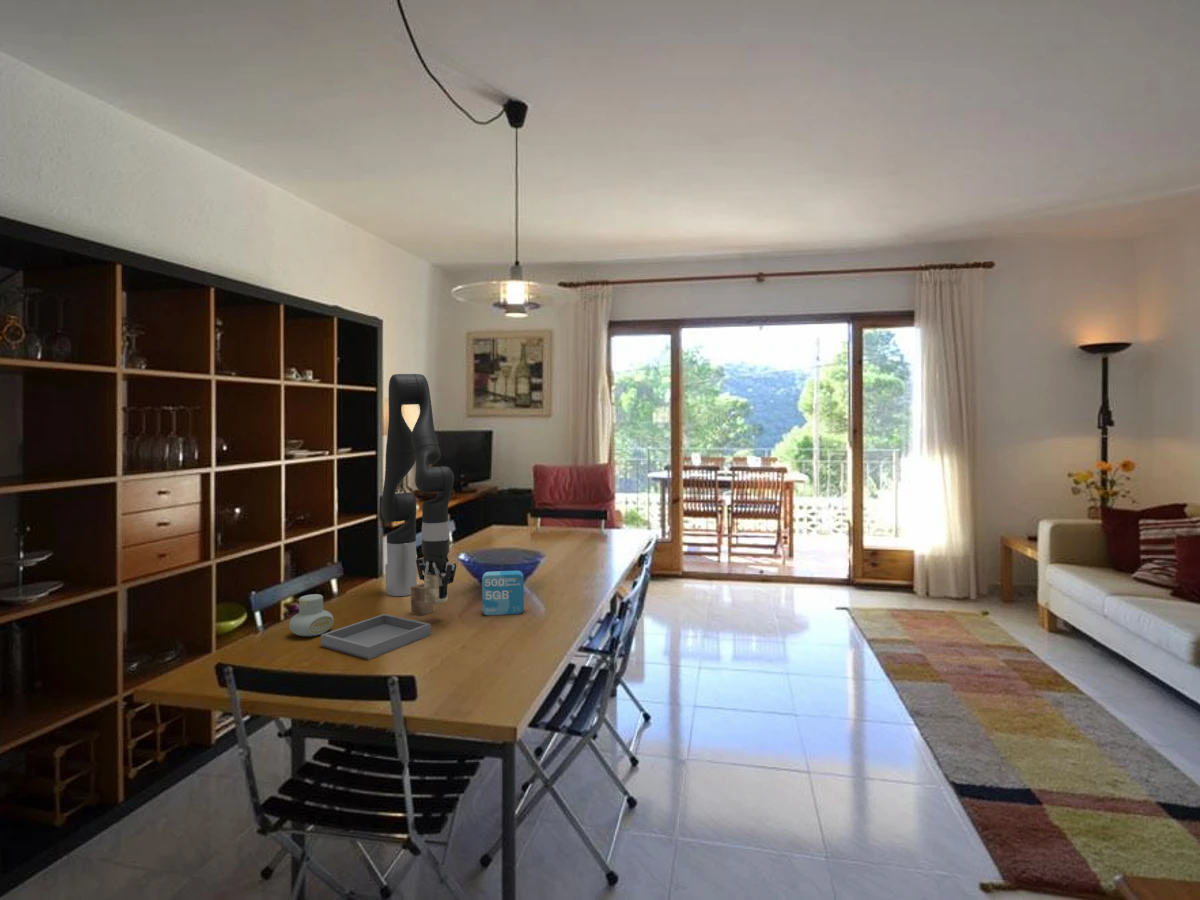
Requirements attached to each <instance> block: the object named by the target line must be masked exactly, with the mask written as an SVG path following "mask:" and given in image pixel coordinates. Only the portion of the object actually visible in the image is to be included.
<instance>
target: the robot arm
mask: <svg viewBox="0 0 1200 900" xmlns="http://www.w3.org/2000/svg"><path fill="white" fill-rule="evenodd" d="M403 405H405V406H406V405H418V406H419V414H418V418H417V420H416V421H415V424H414V426H413V428H412V429H411V428H410V427H409V425H408V424H407V422H406V420H405V419H404V416H403V411H402V407H403ZM432 406H433V405H432V401H431V392H430V386H429V381H428V380H427V378H426V376H425V375H424V374H420V373H394V374H392V375H391V377H390V378H389V381H388V423H387V425H388V426H387V437H386V446H385V447H386V448H385V468H384V469H385V472H384V482H383V490H382V495H381V496H382V497H381V503H380V514H381V517H382V520H383V521H384V522H390V523H391V522H392V523H394V522H404V523H403V524H402V525H401V526H399V527H398V528H396V529H395V530H392V531H389V532H388V533H387V535H386V564H385V567H384V568H385V572H384V573H385V593H386V594H388V595H389V596H391V597H404V596H405V597H406V596H411V586H415V585H418V584H417V583H418V581H417V579H418V578H419V580H420V581H423V582H424V574H429V573H435V574H436V576H437V577H438V578H439V585H440V586H439V598H440V599H443V598H446V596H447V585H448V586H449V585H450V584H452V583H454V580H455V575H456V570H457V567H458V566H457V564H456V562H454V563H452V562H450V561H449V558H448V557H449V556H448V555H449V553H450V526H449V502H450V497H451V494H452V491H453V488H454V483H455V474H454V472H453V471H452V469H451V467H448V466H446V465H445V466H444V465H443V466H431V465H433V464H437V462H439V461H440V460H441V457H442V456H441V455H442V453H441V449H440V447H439V443H438V438H437V435H436V432H435V431H436V430H435V425H434V424H435V423H434V418H433V417H434V416H433V409H432V408H433V407H432ZM414 465H415V474H414V475H415V476H414V483H415V487H416V489H418V491H419V492H421V493H435V492H437V494H436V495H435V497H434V498H431V499H429V500H426V501H424V502H423V503H422V506H421V513H422V514H421V515H422V517H421V519H422V520H421V521H422V522H421V523H422V525H421V554H422V555H423V557H422V558H417V540H416V539H417V497H416V495H415V494H414V493H413V492H397V493H396V491H397V489H398V486H399V485H400V483H401V482H402V480H404V478H406V476H407V475H408V474H409V472H410V471H411V470H412V469H413V467H414ZM442 572H443V574H440V573H442ZM417 575H418V578H417ZM442 577H444V581H443V579H442Z"/></svg>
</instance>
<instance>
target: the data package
mask: <svg viewBox="0 0 1200 900" xmlns="http://www.w3.org/2000/svg"><path fill="white" fill-rule="evenodd" d="M481 593H482V595H481V596H482V597H481V600H482V607H481V608H482V613H483V614H484V615H485V616H488V617H489V616H504V615H505V616H506V615H508V616H509V615H520V614H522V613H523V612H524V608H525V605H524V603H525V602H524V601H525V599H524V598H525V597H524V596H525V594H524V573H523V572H522V571H520V570H499V571H498V570H497V571H495V570H494V571H486V572H484V573H483V575H482V577H481Z"/></svg>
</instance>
